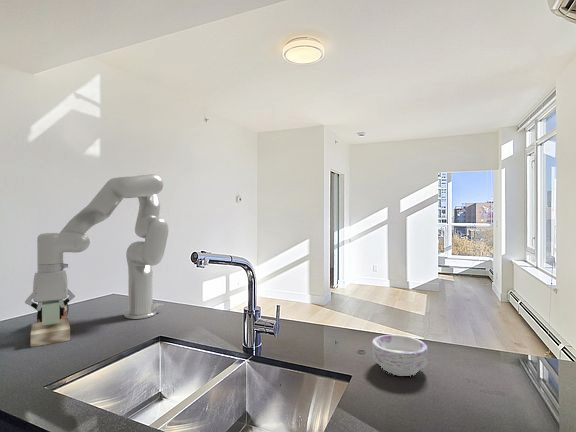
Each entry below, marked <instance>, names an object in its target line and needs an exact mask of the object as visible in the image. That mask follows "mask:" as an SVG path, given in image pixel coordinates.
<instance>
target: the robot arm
mask: <svg viewBox="0 0 576 432" xmlns="http://www.w3.org/2000/svg"><path fill="white" fill-rule="evenodd" d="M163 188H164V182H163V179H162V178H161V177H160V176H159V175H157V174H142V175H136V176H135V175H133V176H119V177H113V178H110V179H109V180H108V181H107V182H105V184H104V185H103V186H102V187H101V189H100V190H99V191H98V192H97V194H95V196H94V197H93V198H92V200H91V201H90V202H89V203H88V204H87V205H86V206H85V207H84V208H83V209H81V210H80V211H79V212H78V213H77V214H75V215H74V216H73V217H72V218H71V219H70V220H69V221H68V222H67V223H66V224H65V226H64V227H63V228H61V231H60V232H59V233H58V232H46V233H40V234H39V235H38V236H37V240H36V241H37V242H36V244H37V245H36V247H37V248H36V249H37V250H36V251H37V252H36V254H37V260H36V262H37V269H36V271H37V272H34V276H33V280H32V281H33V283H32V292H31V294H29V296H28V297H27V298H26V299H25V300H24V303H25V304H26V305H28V306H30V307H31V308H32V309H34V310H36V311H37V313H38V319H40V322H42V304H43V302H46V301H54V300H58V301H59V303H60V319H61V316H64V306H65V305H66V304H67V303H68V304H69V303H70V302H71V301H72V300H74V298H75V297H76V296H75V294H74V293H73V291H71V290H70V288H69V287H68V276H67V271H66V270H65V269H66V268H69V264H68V263H65V262H64V253H74V254H75V253H76V254H77V253H82V252H84V251H86V250H87V249H88V248H89V247H90V243H91V241H90V238H89V236H88V235H87V234H86V233H87V232H88V231H89V230H90V229H92V227H94V226H96V225H97V224H100V223H102V222H104V221H105V220H107V219H108V218H109V217H111V215H112V214H113V212H114V211H115V210H116V208H117V207H118V206H119V204H121V203H122V201H123V200H124V199H133V198H134V199H135V198H137V199H138V203H139V204H138V205H139V206H138V212H137V218H136V221H135V224H134V225H135V226H134V232H135V235H136V236H137V237H139V238H142V239H144V241H142V240H139V241H135V242H133V243H132V242H131V243H130V244H129V246H128V247H127V248H126V253H125V254H126V255H125V257H126V262H127V268H128V269H127V271H128V279H127V280H128V282H127V283H128V284H127V285H128V288H127V289H128V290H127V292H128V295H127V296H128V297H127V299H128V300H127V303H128V306H127V307H128V308H127V310H126V312H124V314H123V315H124V318H126V319H129V320H140V319H147V318H151V317H153V316H155V315H156V314H157V310H158V309H164V307H165V304H164V303H159V302H157V303H154V302H153V278H154V277H153V275H154V274H153V266H156V265H157V266H158V264H160V263H161V261H162V260H163V258H164V255H165V251H166V247H167V242H168V237H169V225H168V223H167V221H166V220H165V219H163V218H162V217H160V212H161V201H160V199H159V196H158V194H159V193H161V192H162V190H163ZM63 300H64V301H63Z"/></svg>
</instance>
